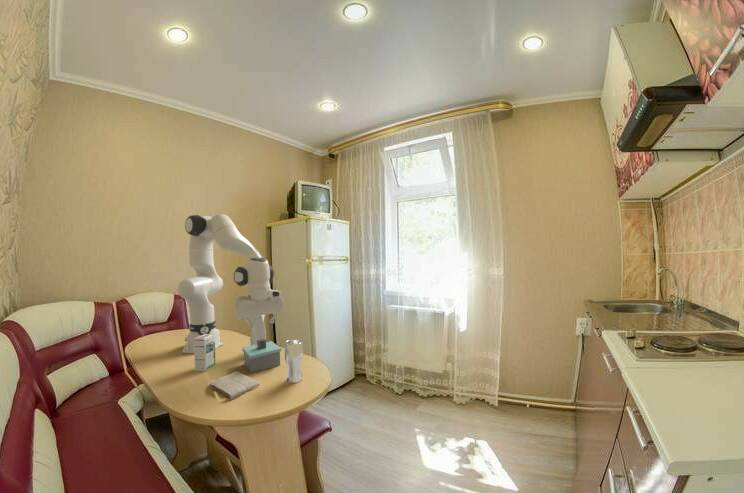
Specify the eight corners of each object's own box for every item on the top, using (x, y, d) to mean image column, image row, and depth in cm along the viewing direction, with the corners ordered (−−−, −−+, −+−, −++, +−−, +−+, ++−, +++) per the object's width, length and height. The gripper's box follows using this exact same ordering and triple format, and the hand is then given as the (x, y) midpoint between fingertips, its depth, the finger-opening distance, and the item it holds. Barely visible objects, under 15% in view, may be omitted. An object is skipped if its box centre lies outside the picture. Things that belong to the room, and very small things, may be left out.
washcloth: (236, 376, 117) (236, 368, 117) (261, 387, 106) (261, 379, 106) (206, 388, 107) (206, 380, 107) (230, 402, 96) (230, 393, 96)
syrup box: (206, 371, 121) (205, 338, 121) (194, 371, 122) (193, 337, 122) (215, 366, 126) (215, 334, 126) (204, 365, 127) (203, 333, 127)
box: (244, 366, 125) (243, 350, 125) (271, 358, 133) (270, 344, 133) (251, 375, 116) (251, 358, 116) (280, 366, 123) (279, 351, 123)
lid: (242, 353, 126) (242, 339, 126) (271, 346, 134) (271, 333, 134) (250, 361, 115) (249, 347, 115) (281, 353, 123) (281, 340, 123)
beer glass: (284, 377, 113) (283, 340, 113) (302, 374, 115) (301, 338, 115) (286, 385, 106) (285, 346, 106) (305, 381, 109) (304, 343, 109)
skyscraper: (268, 351, 143) (266, 297, 143) (267, 357, 136) (266, 299, 136) (250, 354, 141) (249, 298, 141) (248, 360, 133) (247, 301, 133)
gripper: (236, 298, 116) (237, 331, 116) (284, 291, 128) (286, 321, 128) (233, 296, 121) (234, 328, 121) (279, 290, 133) (281, 319, 133)
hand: (261, 325), depth 124 cm, fingers open, 8 cm apart
